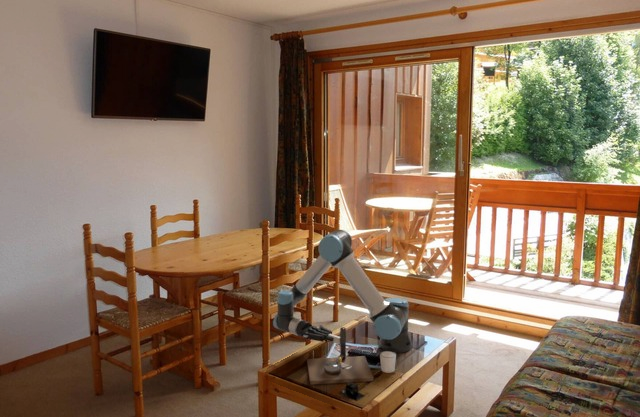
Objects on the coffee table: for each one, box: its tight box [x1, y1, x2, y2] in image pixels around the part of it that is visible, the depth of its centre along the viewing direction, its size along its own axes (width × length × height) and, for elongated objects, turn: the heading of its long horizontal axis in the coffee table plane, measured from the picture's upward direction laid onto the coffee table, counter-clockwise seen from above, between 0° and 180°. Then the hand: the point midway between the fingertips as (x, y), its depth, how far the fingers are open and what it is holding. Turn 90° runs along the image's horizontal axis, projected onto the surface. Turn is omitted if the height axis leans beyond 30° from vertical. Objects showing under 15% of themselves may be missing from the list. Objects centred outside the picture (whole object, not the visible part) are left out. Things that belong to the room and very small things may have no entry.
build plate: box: [337, 382, 366, 402], centre depth 189 cm, size 12×7×5 cm, turn 46°
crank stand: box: [306, 355, 375, 385], centre depth 208 cm, size 26×20×2 cm
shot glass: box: [379, 350, 397, 374], centre depth 208 cm, size 7×7×7 cm
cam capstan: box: [324, 326, 347, 374], centre depth 208 cm, size 17×7×14 cm, turn 156°
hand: (340, 340), depth 215 cm, fingers closed
